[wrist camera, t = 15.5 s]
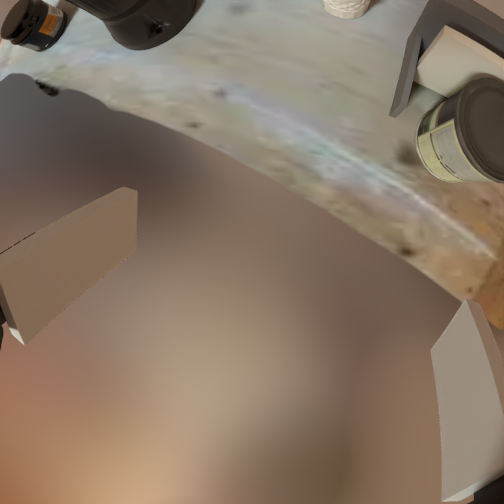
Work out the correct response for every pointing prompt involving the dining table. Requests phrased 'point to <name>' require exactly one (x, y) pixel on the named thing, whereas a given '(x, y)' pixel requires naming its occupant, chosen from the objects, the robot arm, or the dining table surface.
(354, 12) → the white cup
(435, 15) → the grey u-shaped holder
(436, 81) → the curved beige panel
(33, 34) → the supplement container
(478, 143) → the coffee can
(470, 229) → the dining table surface
